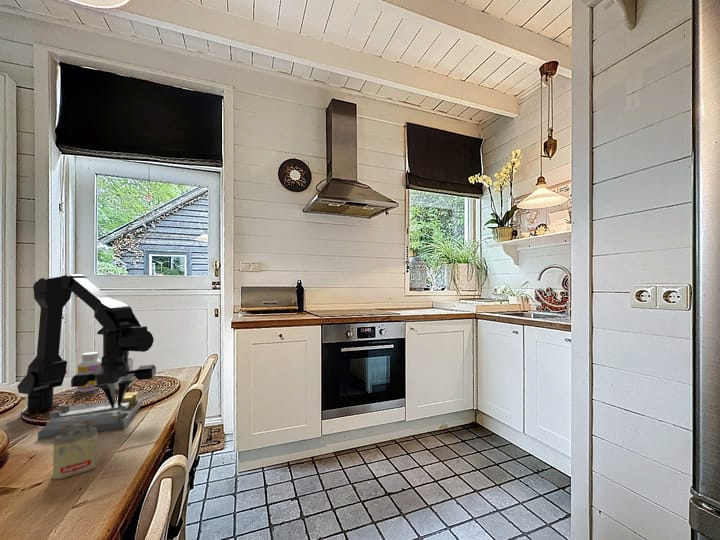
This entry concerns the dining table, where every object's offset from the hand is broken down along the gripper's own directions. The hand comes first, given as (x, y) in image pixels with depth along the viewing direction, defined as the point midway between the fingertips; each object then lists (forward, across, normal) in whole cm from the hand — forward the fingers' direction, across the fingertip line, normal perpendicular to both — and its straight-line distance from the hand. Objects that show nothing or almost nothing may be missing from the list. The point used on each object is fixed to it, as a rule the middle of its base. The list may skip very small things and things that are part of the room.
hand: (116, 406), depth 95 cm
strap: (+1, -5, 0) cm, 5 cm away
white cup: (+4, -8, +34) cm, 35 cm away
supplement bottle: (+4, -18, +34) cm, 39 cm away
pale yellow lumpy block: (+2, +1, +7) cm, 8 cm away
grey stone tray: (+4, -5, +2) cm, 7 cm away
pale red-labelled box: (+4, 0, -26) cm, 26 cm away
